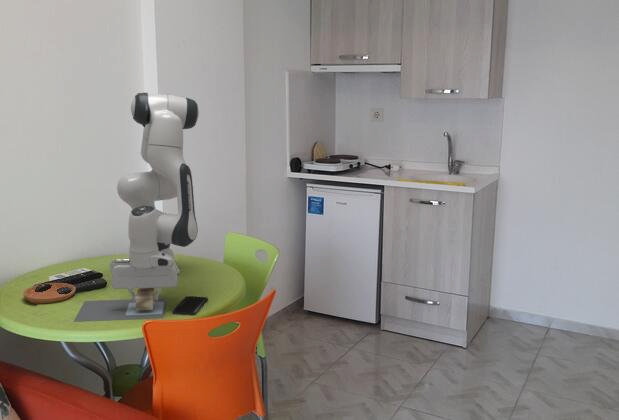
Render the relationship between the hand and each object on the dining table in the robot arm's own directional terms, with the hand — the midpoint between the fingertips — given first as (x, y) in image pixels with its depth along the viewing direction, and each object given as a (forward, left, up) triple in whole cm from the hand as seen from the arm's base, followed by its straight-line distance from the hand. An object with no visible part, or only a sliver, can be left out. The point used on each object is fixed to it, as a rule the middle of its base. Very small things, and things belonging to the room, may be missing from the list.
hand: (145, 300), depth 193 cm
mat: (0, -7, -3) cm, 8 cm away
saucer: (-15, -32, -4) cm, 36 cm away
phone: (-2, +14, -4) cm, 15 cm away
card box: (0, 0, -2) cm, 2 cm away
